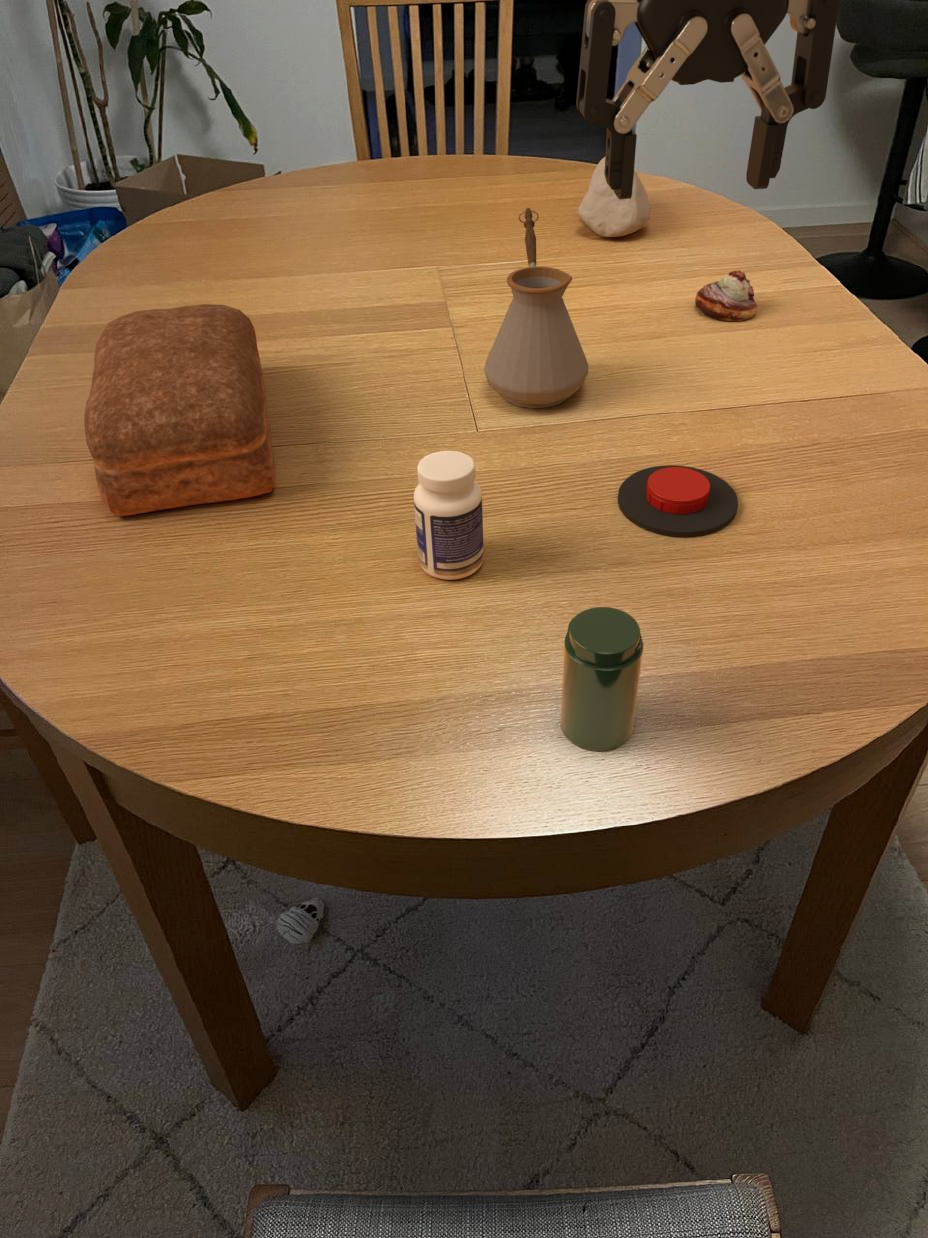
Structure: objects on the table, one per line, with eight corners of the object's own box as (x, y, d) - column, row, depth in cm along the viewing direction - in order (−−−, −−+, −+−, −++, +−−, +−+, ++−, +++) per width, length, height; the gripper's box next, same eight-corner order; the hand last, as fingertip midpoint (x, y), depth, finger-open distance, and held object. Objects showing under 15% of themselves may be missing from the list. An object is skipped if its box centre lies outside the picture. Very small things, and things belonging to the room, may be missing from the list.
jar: (635, 702, 68) (647, 608, 62) (629, 756, 65) (642, 661, 58) (565, 693, 69) (570, 599, 63) (555, 745, 65) (560, 651, 59)
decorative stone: (660, 224, 134) (625, 161, 130) (601, 263, 139) (565, 204, 134) (657, 195, 148) (625, 137, 144) (602, 231, 152) (570, 177, 148)
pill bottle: (496, 554, 82) (494, 457, 75) (461, 590, 79) (457, 491, 72) (441, 535, 84) (435, 439, 78) (405, 569, 81) (396, 472, 74)
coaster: (747, 483, 89) (749, 478, 89) (723, 548, 82) (724, 542, 81) (636, 461, 93) (636, 456, 92) (602, 521, 85) (603, 516, 85)
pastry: (768, 315, 117) (776, 275, 113) (719, 327, 115) (726, 287, 111) (729, 292, 122) (735, 254, 119) (681, 304, 120) (686, 265, 117)
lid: (638, 506, 86) (639, 492, 85) (656, 475, 90) (657, 461, 89) (698, 520, 84) (701, 506, 83) (714, 487, 88) (716, 474, 87)
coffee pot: (593, 415, 100) (602, 276, 90) (486, 419, 100) (483, 281, 90) (573, 329, 116) (578, 203, 106) (480, 332, 116) (478, 207, 106)
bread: (264, 365, 111) (246, 270, 103) (281, 501, 89) (260, 393, 82) (118, 384, 109) (89, 288, 101) (99, 528, 87) (60, 419, 80)
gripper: (835, -155, 50) (779, 166, 61) (576, -142, 50) (565, 180, 60) (897, -151, 45) (823, 202, 56) (606, -136, 44) (588, 218, 55)
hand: (689, 190), depth 58 cm, fingers open, 8 cm apart
